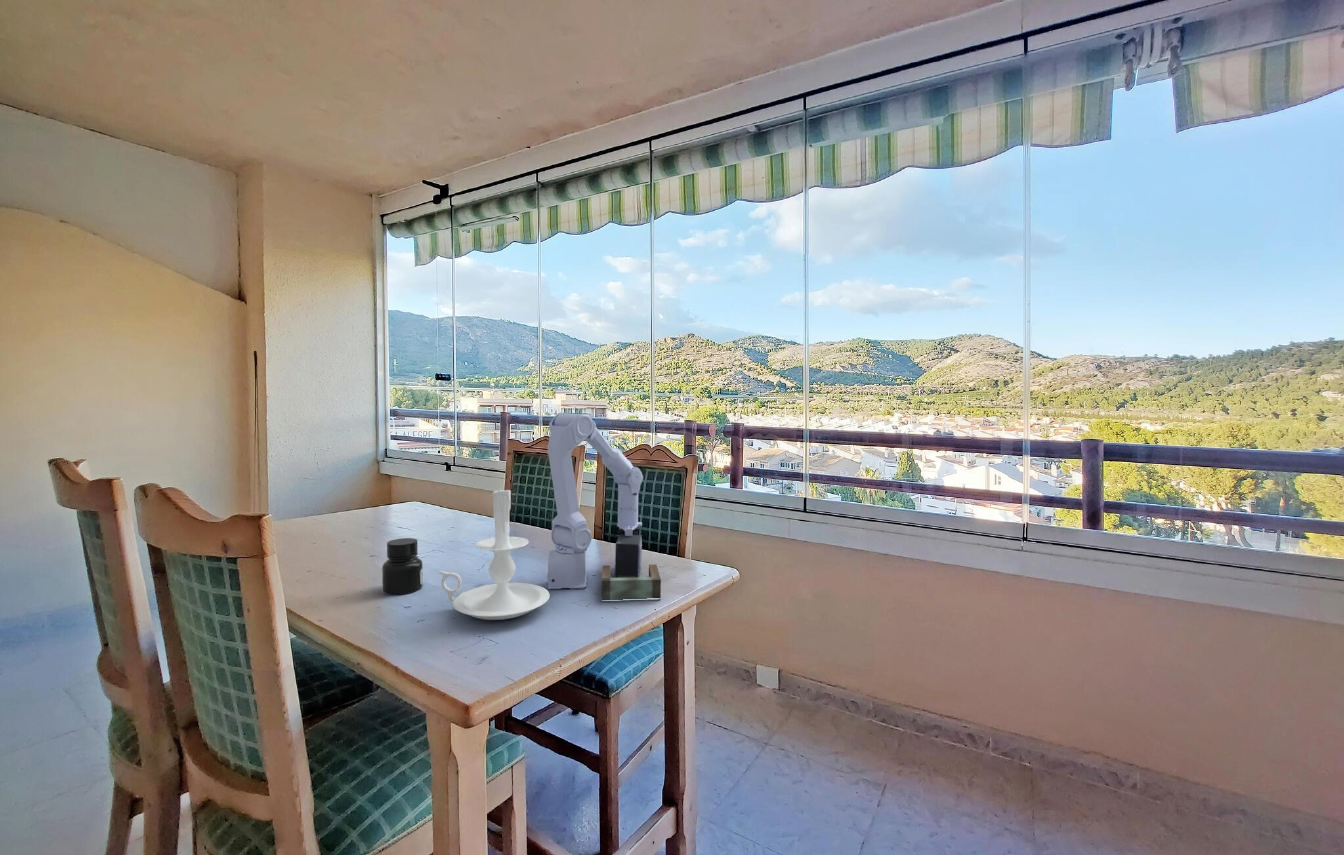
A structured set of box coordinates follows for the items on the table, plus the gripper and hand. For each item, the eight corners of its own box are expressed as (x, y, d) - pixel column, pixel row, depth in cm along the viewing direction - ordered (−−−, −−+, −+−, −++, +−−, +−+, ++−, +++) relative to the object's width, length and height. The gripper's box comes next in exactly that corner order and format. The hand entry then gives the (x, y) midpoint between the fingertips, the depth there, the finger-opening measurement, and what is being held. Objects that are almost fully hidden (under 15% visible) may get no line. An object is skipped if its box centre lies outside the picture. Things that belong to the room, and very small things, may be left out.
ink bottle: (431, 586, 138) (431, 539, 138) (401, 598, 130) (400, 548, 130) (404, 581, 142) (403, 535, 142) (373, 591, 134) (372, 543, 134)
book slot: (601, 601, 130) (601, 580, 130) (602, 584, 142) (602, 565, 142) (660, 600, 131) (660, 579, 131) (656, 583, 143) (656, 564, 143)
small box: (639, 583, 143) (639, 543, 143) (614, 583, 143) (614, 543, 143) (642, 570, 154) (642, 533, 153) (618, 570, 154) (619, 533, 153)
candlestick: (460, 593, 134) (460, 479, 133) (560, 597, 133) (560, 481, 131) (415, 627, 114) (414, 493, 112) (532, 633, 112) (532, 497, 111)
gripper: (643, 512, 150) (643, 562, 150) (640, 502, 164) (640, 547, 165) (617, 513, 149) (617, 562, 150) (616, 503, 163) (616, 548, 164)
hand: (627, 554), depth 157 cm, fingers closed
